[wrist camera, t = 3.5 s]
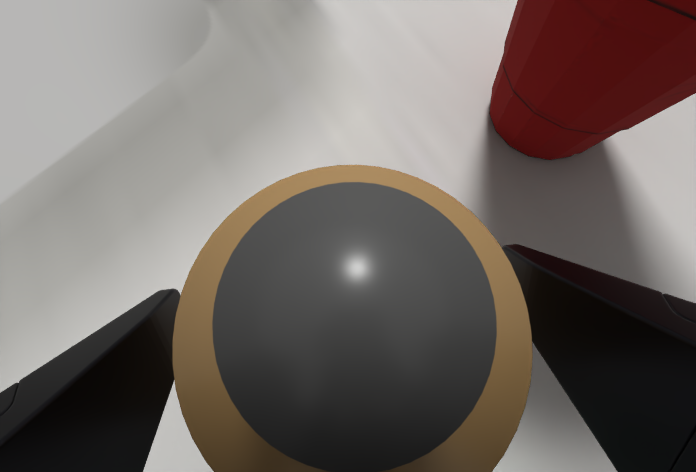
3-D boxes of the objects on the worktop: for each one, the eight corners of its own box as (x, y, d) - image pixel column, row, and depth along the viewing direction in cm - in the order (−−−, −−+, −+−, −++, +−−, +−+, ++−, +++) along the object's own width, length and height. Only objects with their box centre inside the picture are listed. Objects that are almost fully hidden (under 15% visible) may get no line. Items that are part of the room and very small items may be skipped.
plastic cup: (398, 115, 19) (474, -241, 7) (518, 10, 21) (721, -386, 10) (563, 252, 16) (1052, 44, 5) (679, 118, 19) (1200, -238, 7)
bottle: (406, 402, 15) (741, 737, 2) (288, 396, 15) (-51, 688, 2) (405, 284, 16) (600, 79, 4) (298, 279, 16) (131, 63, 4)
